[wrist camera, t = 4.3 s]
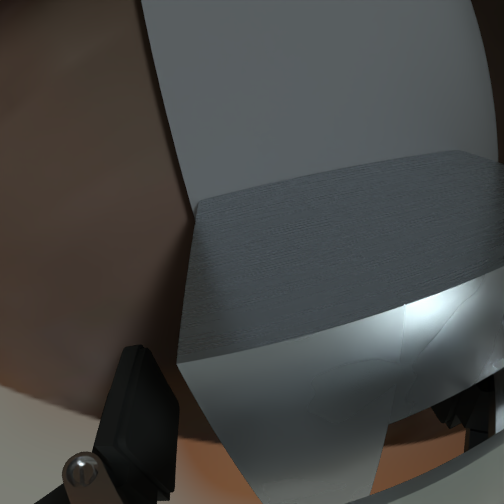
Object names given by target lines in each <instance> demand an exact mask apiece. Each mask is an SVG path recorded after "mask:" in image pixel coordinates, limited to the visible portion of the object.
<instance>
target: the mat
mask: <svg viewBox="0 0 504 504" xmlns="http://www.w3.org/2000/svg"><path fill="white" fill-rule="evenodd" d="M141 2H142V7H143V12H144V17H145V22H146V26H147V31H148V36H149V41H150V45H151V50H152V54H153V59H154V63H155V67H156V72H157V76H158V80H159V85H160V89H161V93H162V97H163V101H164V105H165V109H166V113H167V118H168V121H169V125H170V129H171V133H172V137H173V141H174V145H175V149H176V152H177V156H178V160H179V164H180V167H181V171H182V175H183V178H184V182H185V186H186V189H187V193H188V197H189V200H190V204H191V207H192V211H193V214H194V218H195V221H196V215H197V209H198V203H199V201H200V200H204V199H208V198H211V197H215V196H219V195H223V194H227V193H231V192H235V191H240V190H244V189H248V188H252V187H256V186H261V185H265V184H269V183H274V182H278V181H283V180H287V179H292V178H297V177H301V176H306V175H311V174H316V173H321V172H326V171H331V170H336V169H341V168H346V167H352V166H357V165H362V164H368V163H374V162H379V161H385V160H391V159H397V158H403V157H410V156H416V155H423V154H430V153H437V152H444V151H451V150H462V151H465V152H468V153H472V154H475V155H478V156H481V157H484V158H487V159H490V160H493V161H496V162H498V144H497V130H496V118H495V109H494V101H493V94H492V87H491V81H490V75H489V70H488V64H487V60H486V55H485V50H484V46H483V42H482V38H481V34H480V30H479V26H478V23H477V19H476V16H475V12H474V9H473V6H472V3H471V0H141Z"/></svg>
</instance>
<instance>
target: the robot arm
mask: <svg viewBox="0 0 504 504" xmlns="http://www.w3.org/2000/svg"><path fill="white" fill-rule="evenodd" d="M431 408H432V410H433V411H434V413H435V414H436V416H437V418H438V419H439V421H440V422H441V423H446V424H447V426H448V427H449V429H451V428H453V427H455V426H456V425H458V424H460V423H462V424H463V426H464V427H465V428H466V436H465V446H464V453H463V454H461V455H459V456H458V457H456V458H454V459H452V460H450V461H448V462H446V463H444V464H442V465H440V466H438V467H437V468H434V469H432V470H430V471H428V472H426V473H424V474H422V475H419V476H417V477H415V478H413V479H410V480H408V481H406V482H403V483H401V484H399V485H396V486H394V487H391V488H388V489H386V490H383V491H381V492H378V493H375V494H372V495H369V496H367V497H364V498H361V499H358V500H355V501H351V502H348V503H345V504H504V367H503V368H501V369H500V370H498V371H496V372H495V373H493V374H491V375H490V376H488V377H486V378H485V379H483V380H481V381H479V382H478V383H476V384H474V385H472V386H470V387H469V388H467V389H465V390H463V391H461V392H459V393H457V394H455V395H453V396H451V397H449V398H447V399H445V400H443V401H441V402H439V403H437V404H435V405H433V406H431ZM178 424H179V403H178V401H177V399H176V397H175V395H174V394H173V392H172V390H171V388H170V386H169V385H168V383H167V381H166V379H165V378H164V376H163V374H162V372H161V370H160V368H159V366H158V365H157V363H156V361H155V359H154V357H153V355H152V353H151V351H150V350H149V349H148V348H144V347H143V346H142V345H134V346H129V347H125V348H124V350H123V352H122V355H121V358H120V361H119V364H118V368H117V371H116V374H115V377H114V380H113V383H112V386H111V389H110V391H109V393H108V396H107V400H106V403H105V406H104V410H103V413H102V417H101V420H100V424H99V428H98V431H97V435H96V438H95V442H94V446H93V450H92V453H91V452H80V453H77V454H75V455H74V456H72V457H71V458H69V460H68V461H67V462H66V463H65V465H64V467H63V471H62V478H63V484H61V485H60V486H59V487H57V488H56V489H55V490H53V491H52V492H50V493H49V494H47V495H46V496H45V497H43V498H42V499H40V500H39V501H37V502H36V503H34V504H157V501H169V500H170V492H174V489H175V470H176V453H177V438H178Z"/></svg>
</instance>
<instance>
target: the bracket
mask: <svg viewBox="0 0 504 504" xmlns="http://www.w3.org/2000/svg"><path fill="white" fill-rule="evenodd" d="M176 364H177V366H178V368H179V370H180V372H181V374H182V376H183V377H184V379H185V381H186V383H187V385H188V387H189V388H190V390H191V392H192V394H193V396H194V397H195V399H196V401H197V403H198V405H199V406H200V408H201V410H202V411H203V413H204V415H205V417H206V418H207V420H208V422H209V423H210V425H211V427H212V428H213V430H214V432H215V433H216V435H217V436H218V438H219V440H220V441H221V443H222V444H223V446H224V448H225V449H226V451H227V452H228V454H229V455H230V457H231V458H232V460H233V462H234V463H235V465H236V466H237V468H238V469H239V471H240V472H241V473H242V475H243V476H244V478H245V479H246V481H247V482H248V484H249V485H250V486H251V488H252V489H253V491H254V492H255V494H256V495H257V496H258V498H259V499H260V500H261V502H262V503H263V504H345V503H348V502H351V501H355V500H358V499H361V498H364V497H367V496H369V495H370V492H371V489H372V485H373V482H374V478H375V475H376V472H377V467H378V464H379V460H380V457H381V453H382V449H383V445H384V441H385V436H386V432H387V427H388V424H391V423H394V422H396V421H399V420H401V419H403V418H406V417H408V416H411V415H413V414H415V413H418V412H420V411H422V410H424V409H426V408H429V407H431V406H433V405H435V404H437V403H439V402H441V401H443V400H445V399H447V398H449V397H451V396H453V395H455V394H457V393H459V392H461V391H463V390H465V389H467V388H469V387H470V386H472V385H474V384H476V383H478V382H479V381H481V380H483V379H485V378H486V377H488V376H490V375H491V374H493V373H495V372H496V371H498V370H500V369H501V368H503V367H504V164H502V163H499V162H496V161H493V160H490V159H487V158H484V157H481V156H478V155H475V154H472V153H468V152H465V151H462V150H451V151H444V152H437V153H430V154H423V155H416V156H410V157H403V158H397V159H391V160H385V161H379V162H374V163H368V164H362V165H357V166H352V167H346V168H341V169H336V170H331V171H326V172H321V173H316V174H311V175H306V176H301V177H297V178H292V179H287V180H283V181H278V182H274V183H269V184H265V185H261V186H256V187H252V188H248V189H244V190H240V191H235V192H231V193H227V194H223V195H219V196H215V197H211V198H208V199H204V200H200V201H199V203H198V209H197V215H196V221H195V227H194V233H193V240H192V246H191V253H190V259H189V266H188V273H187V280H186V287H185V295H184V302H183V310H182V318H181V327H180V335H179V344H178V353H177V363H176Z"/></svg>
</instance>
